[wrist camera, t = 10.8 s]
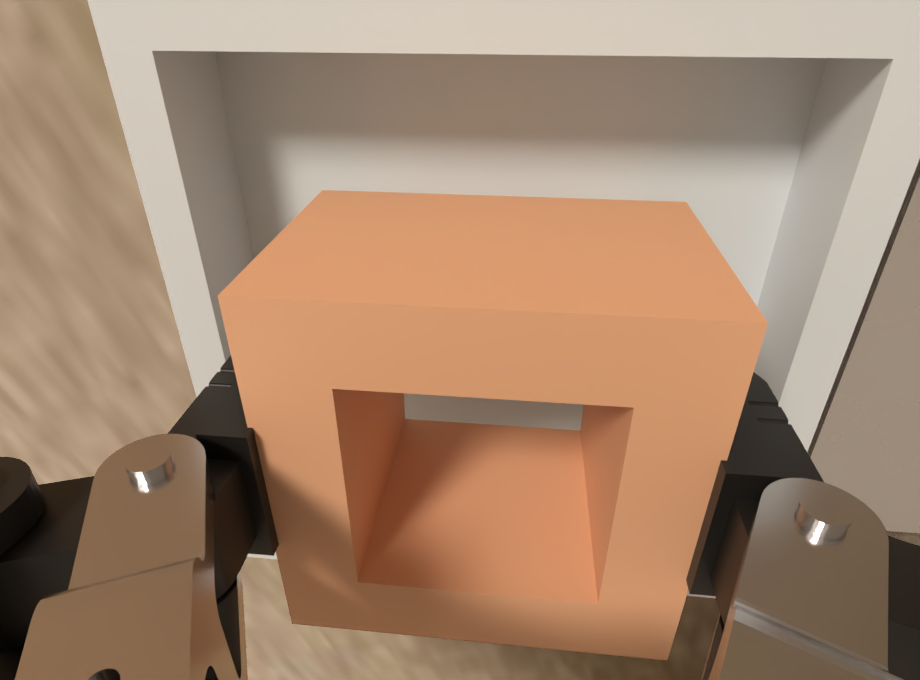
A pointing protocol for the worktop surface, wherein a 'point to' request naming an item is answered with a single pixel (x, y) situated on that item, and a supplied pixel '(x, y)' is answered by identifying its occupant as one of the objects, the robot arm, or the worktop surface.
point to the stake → (881, 388)
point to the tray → (532, 140)
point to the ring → (483, 445)
